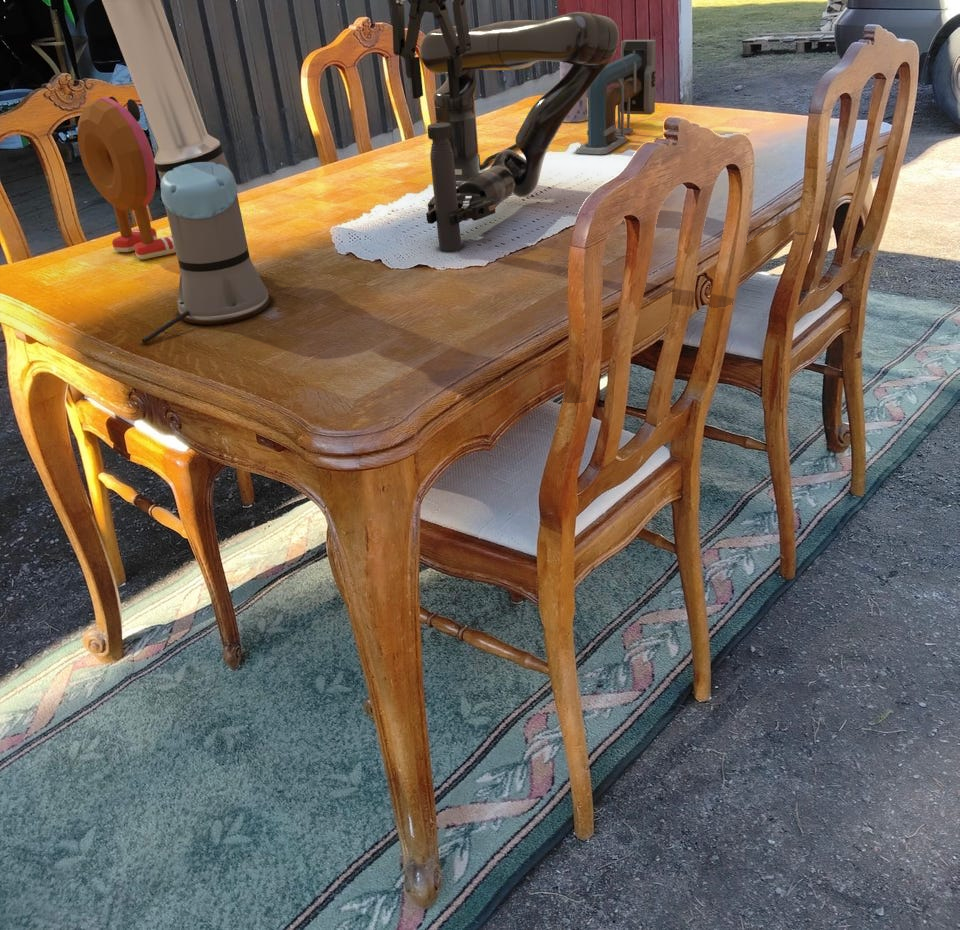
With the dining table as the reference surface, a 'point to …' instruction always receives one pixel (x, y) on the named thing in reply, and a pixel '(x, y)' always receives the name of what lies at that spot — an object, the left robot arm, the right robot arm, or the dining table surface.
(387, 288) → the dining table surface
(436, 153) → the bottle
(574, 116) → the aerosol can
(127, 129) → the toy
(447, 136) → the cap
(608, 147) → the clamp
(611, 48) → the right robot arm
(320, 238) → the dining table surface
